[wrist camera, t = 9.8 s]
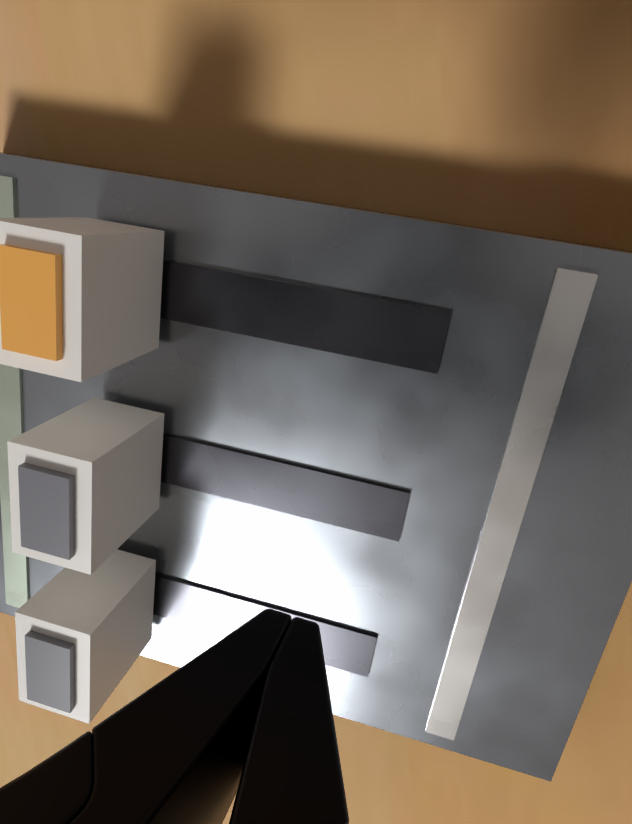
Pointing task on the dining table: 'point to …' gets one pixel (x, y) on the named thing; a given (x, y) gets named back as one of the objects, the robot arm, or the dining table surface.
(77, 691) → the block
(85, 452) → the breaker
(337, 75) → the dining table surface
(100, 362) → the block
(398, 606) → the panel
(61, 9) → the dining table surface
